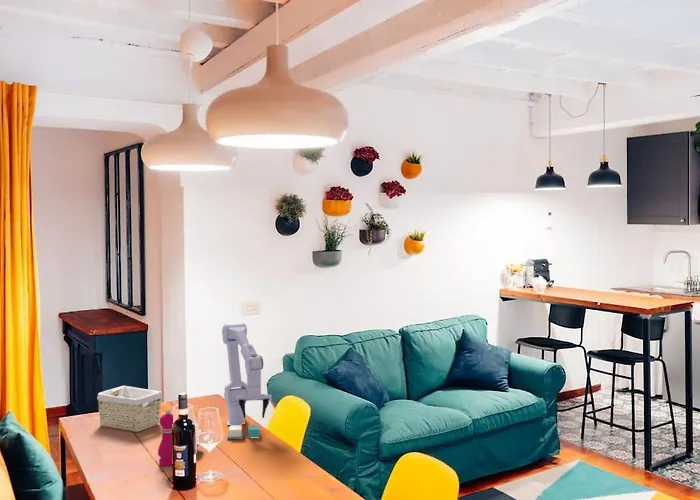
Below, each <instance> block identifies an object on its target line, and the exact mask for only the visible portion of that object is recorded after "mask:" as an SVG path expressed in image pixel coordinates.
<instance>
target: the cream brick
mask: <svg viewBox="0 0 700 500" xmlns="http://www.w3.org/2000/svg"><path fill="white" fill-rule="evenodd" d="M242 429H243V425H232V426H229V429H228V432H229V437H242V431H243V430H242Z"/></svg>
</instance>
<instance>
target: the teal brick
mask: <svg viewBox="0 0 700 500" xmlns="http://www.w3.org/2000/svg"><path fill="white" fill-rule="evenodd" d="M247 428H248V432H247V434H248V435H247V437H248V438H251V437H259V438H260V425H259V424H254V425H253V424H250V425H247Z"/></svg>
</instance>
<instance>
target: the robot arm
mask: <svg viewBox="0 0 700 500" xmlns="http://www.w3.org/2000/svg"><path fill="white" fill-rule="evenodd" d="M221 332H222V333H221V335H222V342H223V344H225V345H226V351H227V361H228V362H227V363H228V373H229V382H228V383H227V384H226V385H225V386H224V392H223V393H224V394H223V398H224V401H225V403H226V404H227V405H228V406H227V407H228V409H227V412H228V415H227V417H228V418H227V422H226V425H240V424H242V423H244V422H245V418H246V404H247V402H248V401H262V414H261V415H262V418H264V419H265V414H266V411H267V408H268V406H269V403H270V401H272V398H273V397H272V394H263V393H262V370H263V368H264V358H263V356H262V355H260V354H258V353H257V351H256V349H255V347H254V345H252V344H250V343H249V340H248V336H247V334H248V326H247V325H246V323H244V322H243V323H232V324H231V323H230V324H227V323H226V324H224V325H223V326H222V329H221ZM239 346H240V352H239ZM240 353H241V356H242V357H243V359H244V369H245V374H246V382H244V381H243V380H242V373H241V364H240V355H239V354H240Z"/></svg>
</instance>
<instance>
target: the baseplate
mask: <svg viewBox="0 0 700 500" xmlns="http://www.w3.org/2000/svg"><path fill="white" fill-rule="evenodd" d="M241 438H243V439H244V431H243V430H242V437H229V431H228V432H227V439H241Z"/></svg>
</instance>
